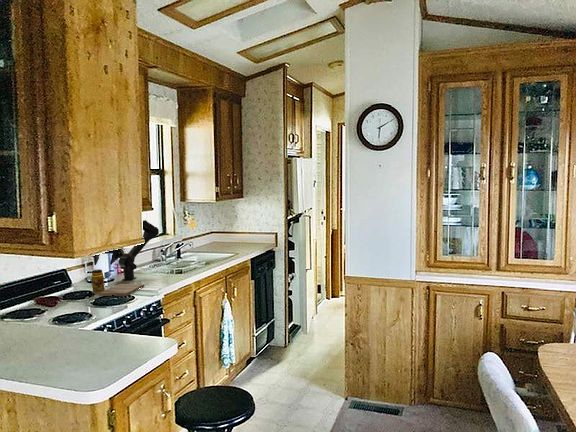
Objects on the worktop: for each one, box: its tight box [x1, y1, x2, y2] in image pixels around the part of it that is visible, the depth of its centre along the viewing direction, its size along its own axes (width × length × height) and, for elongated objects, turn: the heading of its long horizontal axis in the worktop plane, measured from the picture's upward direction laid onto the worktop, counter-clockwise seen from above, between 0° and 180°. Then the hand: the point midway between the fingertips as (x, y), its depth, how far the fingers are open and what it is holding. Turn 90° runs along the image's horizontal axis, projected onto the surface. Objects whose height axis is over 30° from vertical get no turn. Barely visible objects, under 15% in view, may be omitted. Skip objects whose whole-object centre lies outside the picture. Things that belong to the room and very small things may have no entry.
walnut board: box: [98, 283, 145, 297], centre depth 277 cm, size 20×16×2 cm
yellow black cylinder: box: [91, 269, 105, 295], centre depth 278 cm, size 7×8×12 cm
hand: (102, 264), depth 285 cm, fingers open, 9 cm apart
